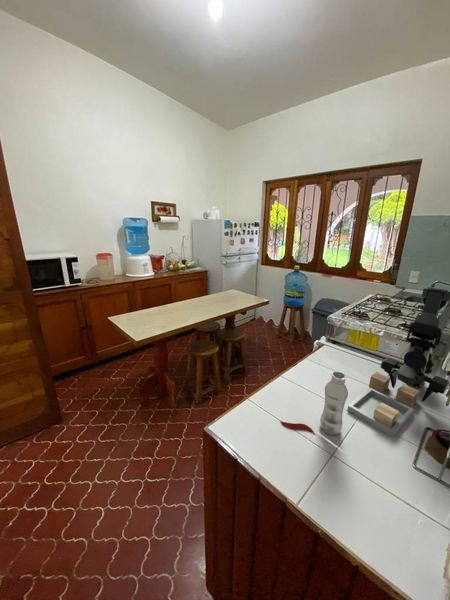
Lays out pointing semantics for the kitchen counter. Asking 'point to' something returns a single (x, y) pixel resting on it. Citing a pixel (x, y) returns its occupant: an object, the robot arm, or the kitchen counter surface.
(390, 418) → the block
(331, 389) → the plastic bottle
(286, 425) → the cayenne pepper
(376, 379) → the block
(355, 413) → the tray
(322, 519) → the kitchen counter surface
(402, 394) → the block
